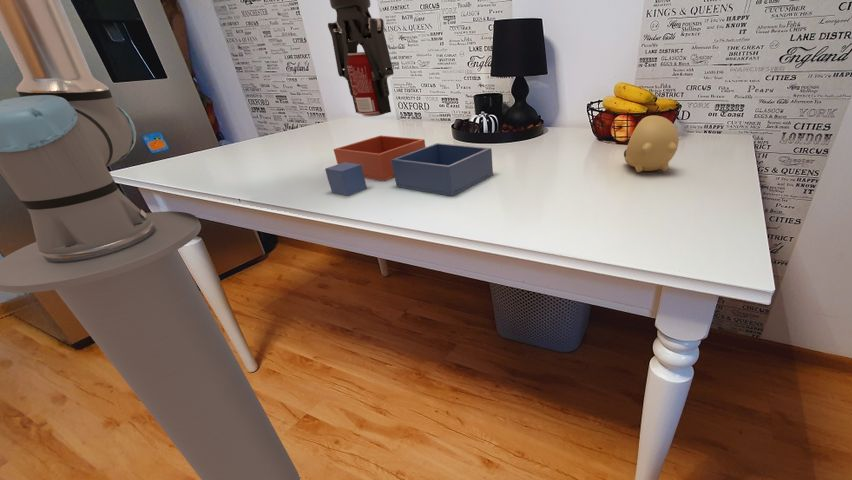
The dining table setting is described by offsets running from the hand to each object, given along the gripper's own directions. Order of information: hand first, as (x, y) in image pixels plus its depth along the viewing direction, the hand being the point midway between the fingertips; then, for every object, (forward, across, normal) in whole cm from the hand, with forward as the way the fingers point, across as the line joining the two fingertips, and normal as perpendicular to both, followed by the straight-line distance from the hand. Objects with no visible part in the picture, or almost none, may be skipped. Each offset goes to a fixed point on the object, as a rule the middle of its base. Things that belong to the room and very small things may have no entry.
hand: (373, 112), depth 88 cm
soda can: (+1, 0, 0) cm, 1 cm away
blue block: (+13, -5, +15) cm, 20 cm away
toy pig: (+13, -56, -20) cm, 61 cm away
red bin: (+13, 0, 0) cm, 13 cm away
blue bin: (+13, -20, +2) cm, 24 cm away
